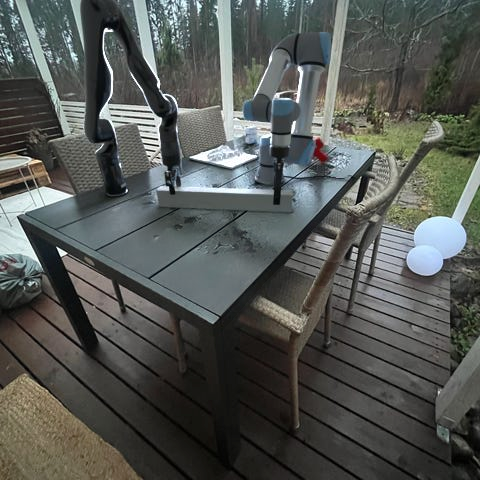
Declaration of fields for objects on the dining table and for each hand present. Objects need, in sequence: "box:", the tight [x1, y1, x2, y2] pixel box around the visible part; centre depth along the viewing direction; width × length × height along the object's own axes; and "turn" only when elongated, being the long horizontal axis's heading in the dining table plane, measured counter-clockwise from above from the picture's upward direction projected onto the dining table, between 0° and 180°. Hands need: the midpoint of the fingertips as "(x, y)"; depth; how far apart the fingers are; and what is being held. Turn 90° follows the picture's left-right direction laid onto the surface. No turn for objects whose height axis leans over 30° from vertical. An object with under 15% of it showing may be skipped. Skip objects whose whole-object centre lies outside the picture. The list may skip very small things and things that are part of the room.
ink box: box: [245, 125, 258, 145], centre depth 213 cm, size 8×5×12 cm, turn 135°
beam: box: [155, 185, 294, 213], centre depth 116 cm, size 57×5×8 cm, turn 84°
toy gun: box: [311, 136, 329, 165], centre depth 169 cm, size 18×4×15 cm
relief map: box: [189, 144, 258, 170], centre depth 177 cm, size 27×35×5 cm
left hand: (175, 190), depth 116 cm, fingers open, 8 cm apart
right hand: (276, 197), depth 113 cm, fingers open, 13 cm apart
